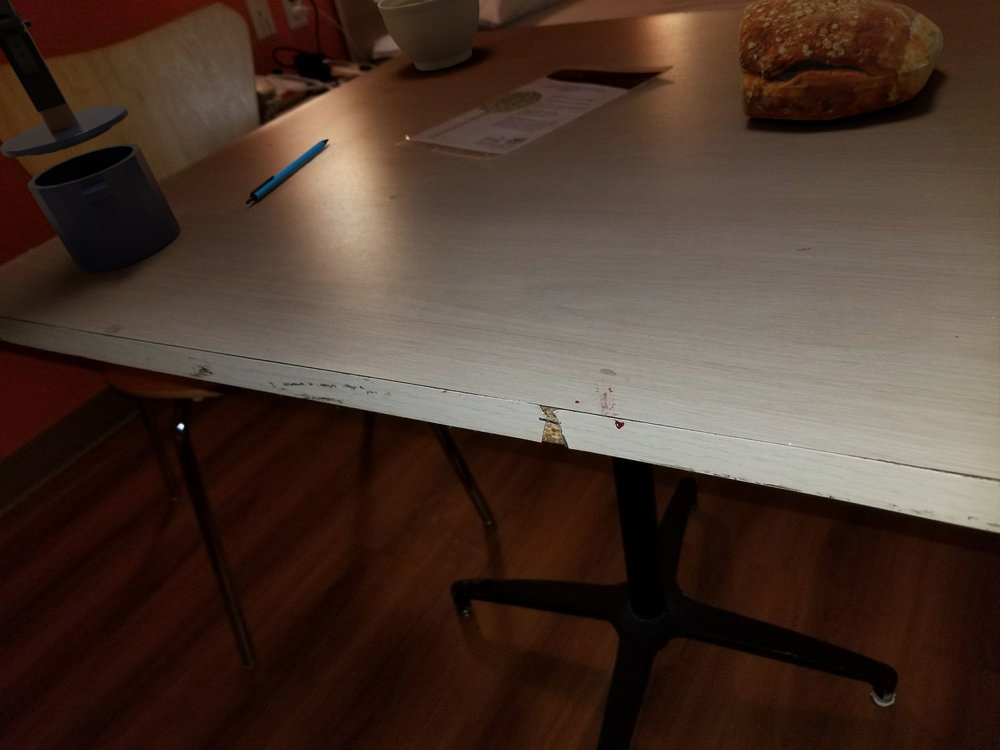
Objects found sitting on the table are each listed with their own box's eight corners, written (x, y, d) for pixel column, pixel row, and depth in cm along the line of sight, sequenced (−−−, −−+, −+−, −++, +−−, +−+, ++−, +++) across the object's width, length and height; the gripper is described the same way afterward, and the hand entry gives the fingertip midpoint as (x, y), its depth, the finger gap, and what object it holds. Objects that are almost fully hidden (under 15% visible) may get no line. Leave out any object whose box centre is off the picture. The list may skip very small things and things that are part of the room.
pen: (245, 206, 84) (241, 197, 83) (326, 142, 97) (323, 134, 97) (251, 206, 83) (247, 197, 83) (332, 142, 97) (329, 133, 96)
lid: (6, 173, 68) (-69, 53, 61) (7, 147, 77) (-59, 41, 71) (139, 127, 72) (80, 10, 65) (124, 108, 81) (71, 4, 75)
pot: (83, 292, 73) (29, 205, 68) (72, 243, 86) (26, 167, 80) (193, 248, 77) (150, 162, 71) (167, 207, 90) (128, 132, 84)
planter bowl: (394, 64, 127) (376, -3, 121) (483, 41, 127) (469, -28, 121) (399, 86, 114) (378, 12, 108) (498, 60, 114) (483, -16, 108)
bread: (765, 66, 86) (766, -27, 80) (943, 56, 77) (959, -51, 71) (716, 133, 73) (713, 27, 67) (924, 130, 64) (942, 7, 58)
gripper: (-72, -216, 54) (96, 103, 67) (-57, -184, 66) (83, 82, 79) (-186, -195, 51) (12, 131, 65) (-150, -166, 63) (11, 105, 77)
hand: (50, 103), depth 72 cm, fingers closed on lid, 3 cm apart
